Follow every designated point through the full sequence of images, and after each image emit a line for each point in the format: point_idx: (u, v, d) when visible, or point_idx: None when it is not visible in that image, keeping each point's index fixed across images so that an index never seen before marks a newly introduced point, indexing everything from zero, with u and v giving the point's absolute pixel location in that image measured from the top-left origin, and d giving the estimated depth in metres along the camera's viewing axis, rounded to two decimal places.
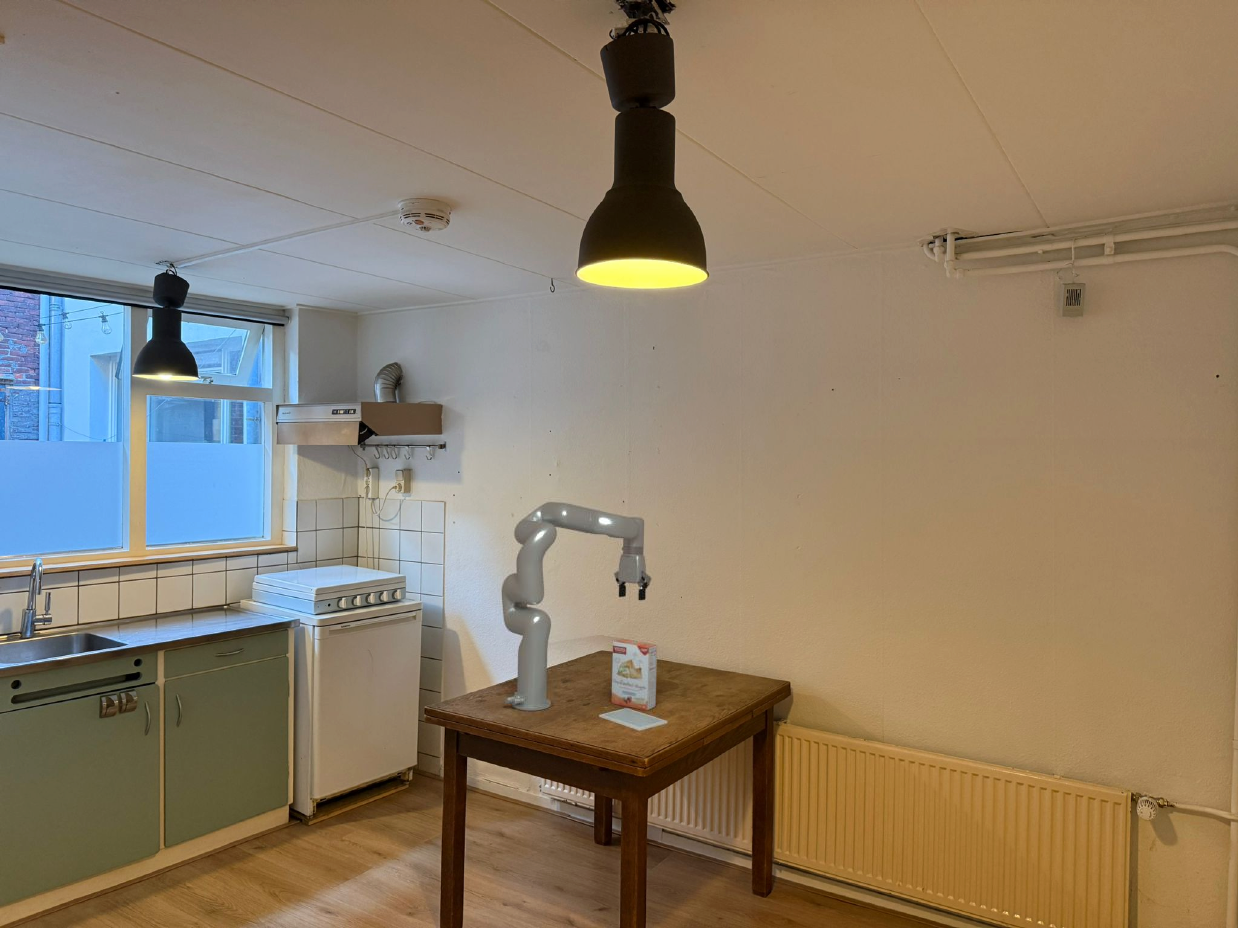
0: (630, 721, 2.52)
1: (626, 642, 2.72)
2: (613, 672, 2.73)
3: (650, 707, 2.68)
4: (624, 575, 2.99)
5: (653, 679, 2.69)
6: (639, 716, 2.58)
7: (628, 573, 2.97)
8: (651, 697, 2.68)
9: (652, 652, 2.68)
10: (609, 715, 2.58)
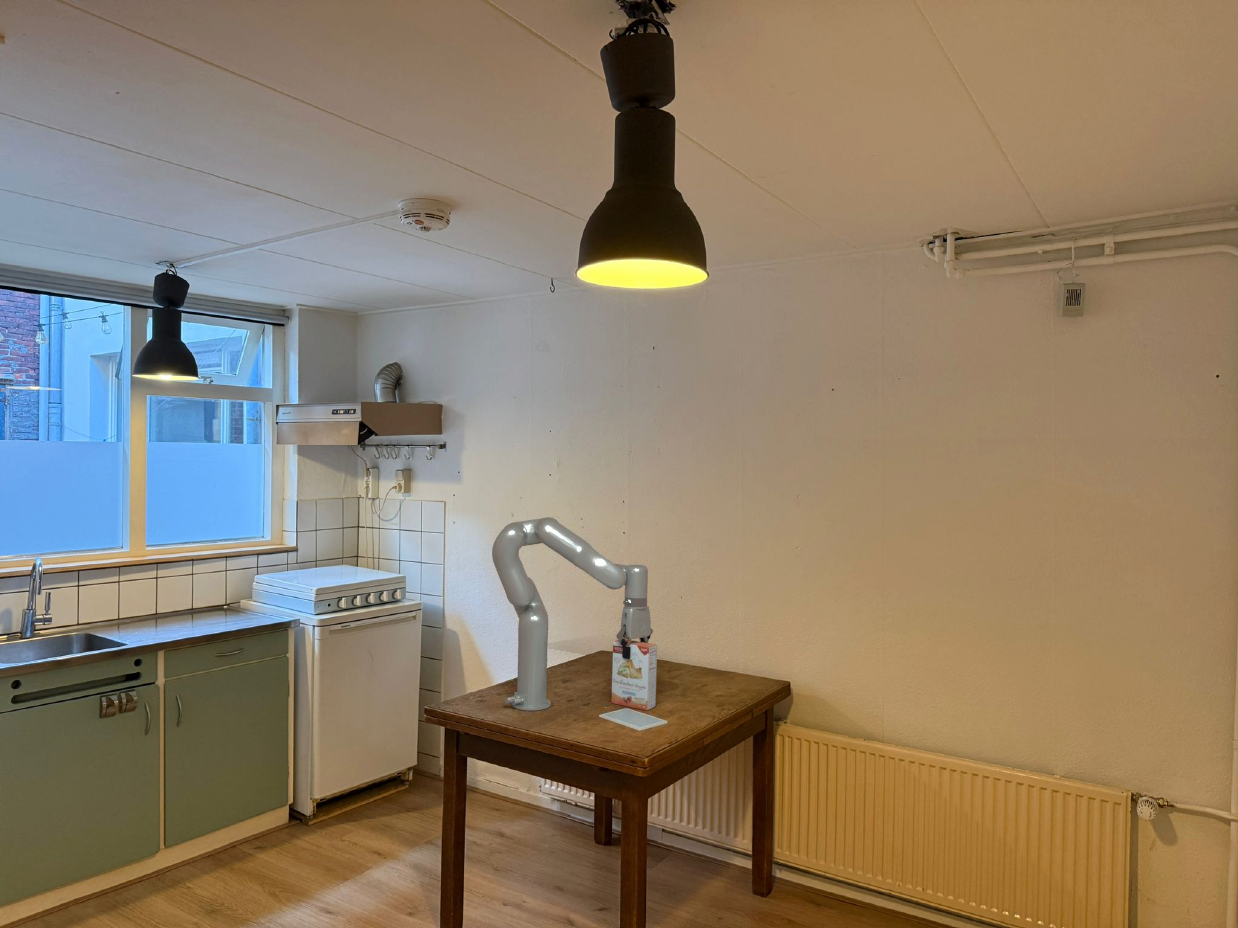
0: (630, 721, 2.52)
1: None
2: (613, 672, 2.73)
3: (650, 707, 2.68)
4: (638, 631, 2.69)
5: (653, 679, 2.69)
6: (639, 716, 2.58)
7: (642, 627, 2.71)
8: (651, 697, 2.68)
9: (652, 652, 2.68)
10: (609, 715, 2.58)
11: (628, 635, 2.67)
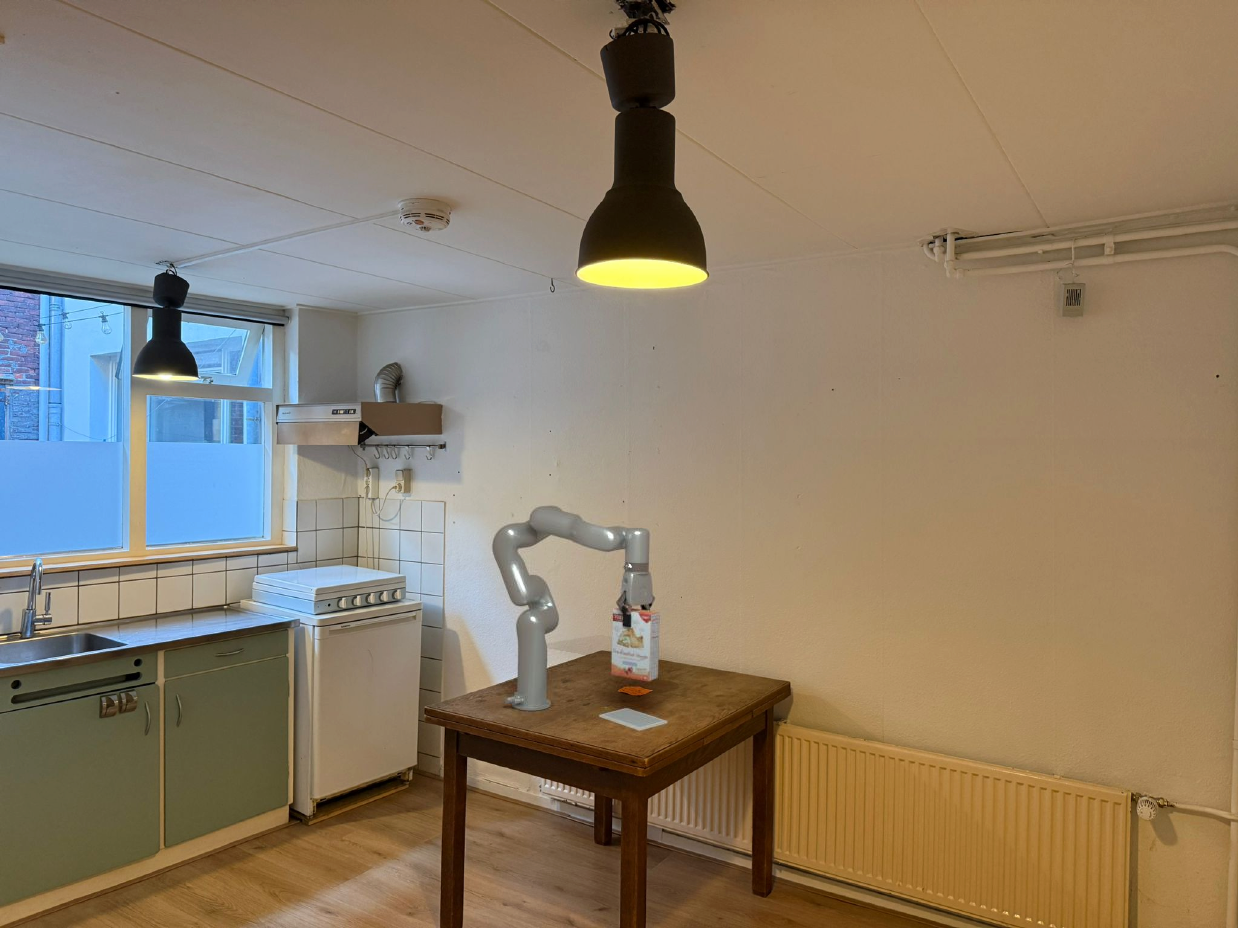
0: (630, 721, 2.52)
1: None
2: (613, 641, 2.58)
3: (652, 678, 2.52)
4: (639, 597, 2.54)
5: (655, 648, 2.53)
6: (639, 716, 2.58)
7: (643, 594, 2.55)
8: (653, 668, 2.53)
9: (655, 620, 2.53)
10: (609, 715, 2.58)
11: (629, 602, 2.52)
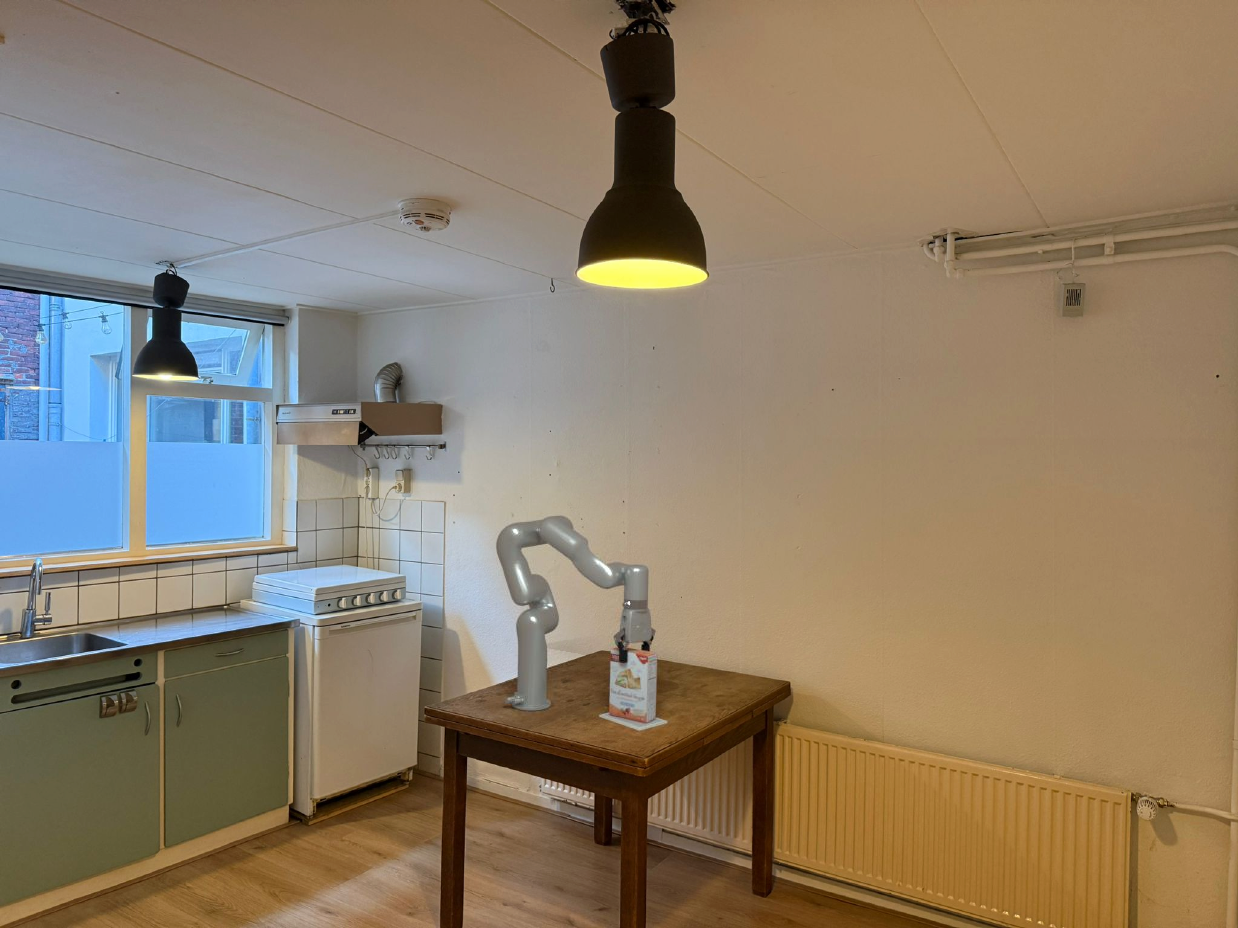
0: (630, 721, 2.52)
1: None
2: (611, 682, 2.58)
3: (649, 719, 2.52)
4: (638, 634, 2.54)
5: (653, 689, 2.53)
6: None
7: (642, 631, 2.55)
8: (651, 709, 2.52)
9: (652, 661, 2.52)
10: (609, 715, 2.58)
11: (628, 639, 2.52)
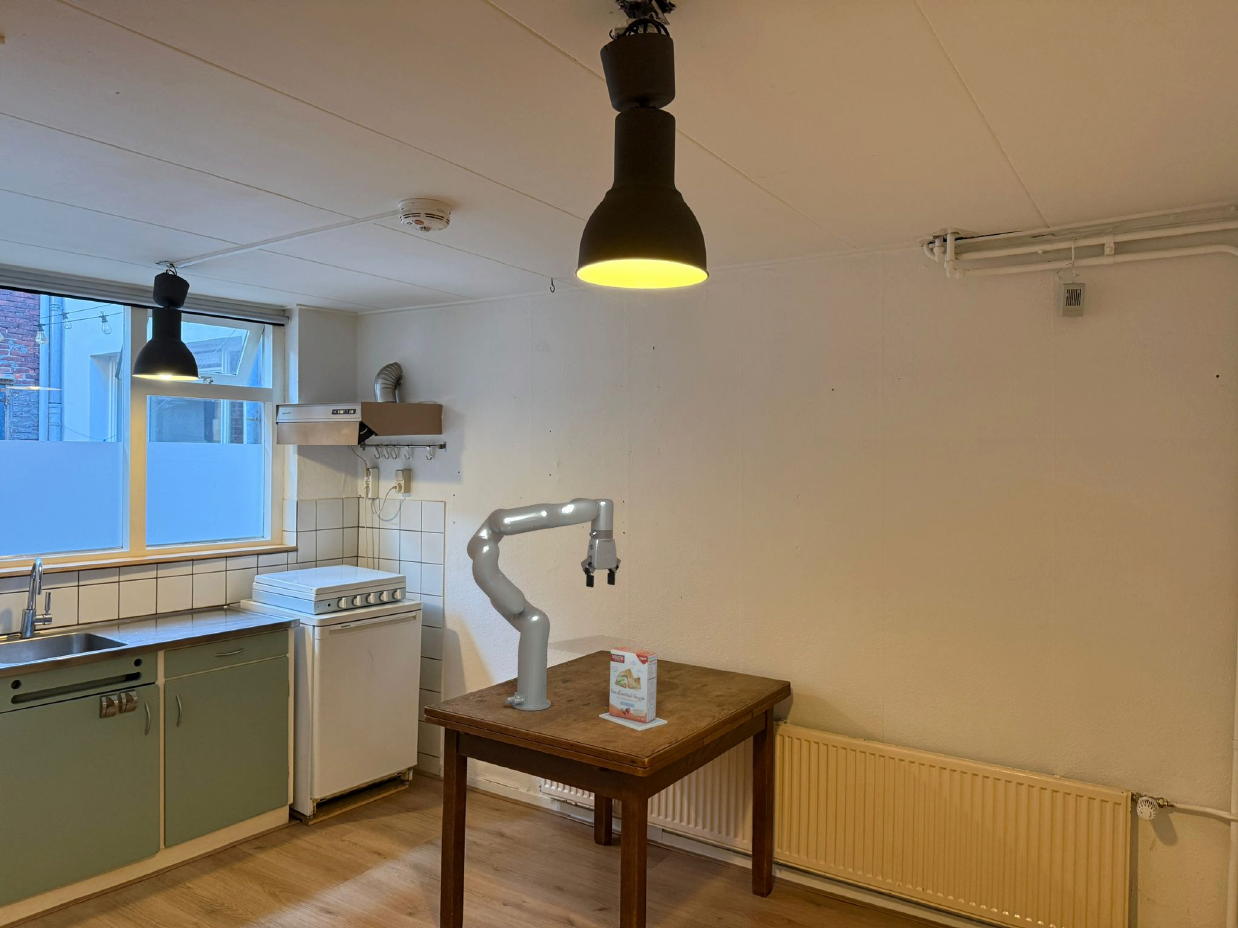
0: (630, 721, 2.52)
1: (624, 650, 2.56)
2: (611, 682, 2.58)
3: (649, 719, 2.52)
4: (603, 562, 2.76)
5: (653, 689, 2.53)
6: None
7: (608, 559, 2.77)
8: (651, 709, 2.52)
9: (652, 661, 2.52)
10: (609, 715, 2.58)
11: (594, 566, 2.74)
